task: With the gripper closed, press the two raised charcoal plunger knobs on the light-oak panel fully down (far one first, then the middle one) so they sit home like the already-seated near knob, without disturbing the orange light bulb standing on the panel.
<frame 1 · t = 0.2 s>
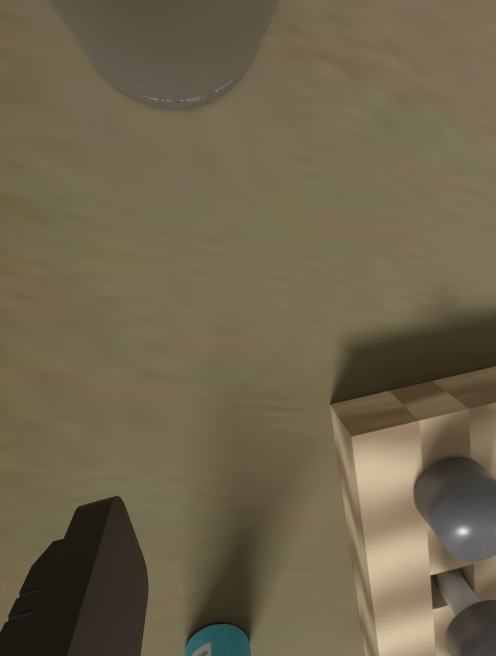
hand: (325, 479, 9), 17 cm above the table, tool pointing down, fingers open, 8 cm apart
teal bottle: (219, 643, 33), on the table
knob middle: (477, 623, 26), point 7 cm above the table, slide at 0.0 cm
panel: (454, 533, 33), on the table
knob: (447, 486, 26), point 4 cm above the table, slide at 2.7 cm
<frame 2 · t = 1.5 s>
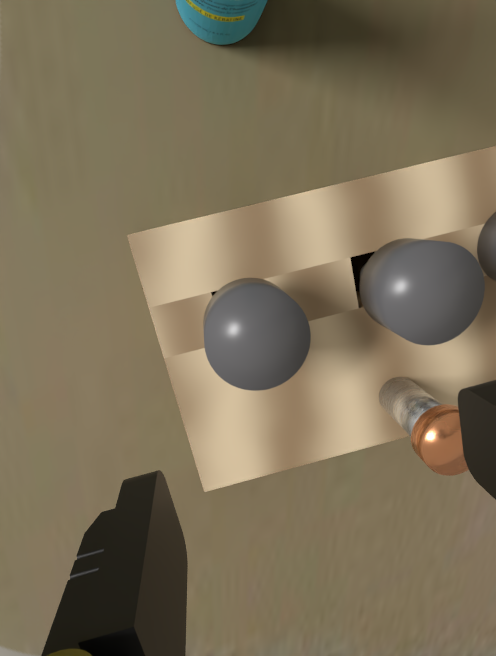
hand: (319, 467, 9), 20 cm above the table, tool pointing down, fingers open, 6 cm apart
teal bottle: (220, 1, 24), on the table
orange light bulb: (397, 394, 27), point 4 cm above the table, touching panel
knob middle: (400, 283, 22), point 7 cm above the table, slide at 0.0 cm
panel: (361, 305, 29), on the table
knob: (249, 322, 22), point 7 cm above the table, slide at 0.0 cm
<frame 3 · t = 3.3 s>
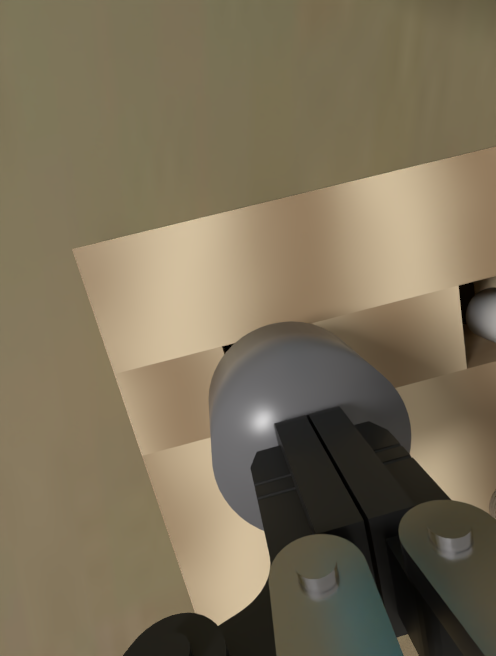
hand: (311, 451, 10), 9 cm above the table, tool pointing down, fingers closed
panel: (447, 350, 19), on the table
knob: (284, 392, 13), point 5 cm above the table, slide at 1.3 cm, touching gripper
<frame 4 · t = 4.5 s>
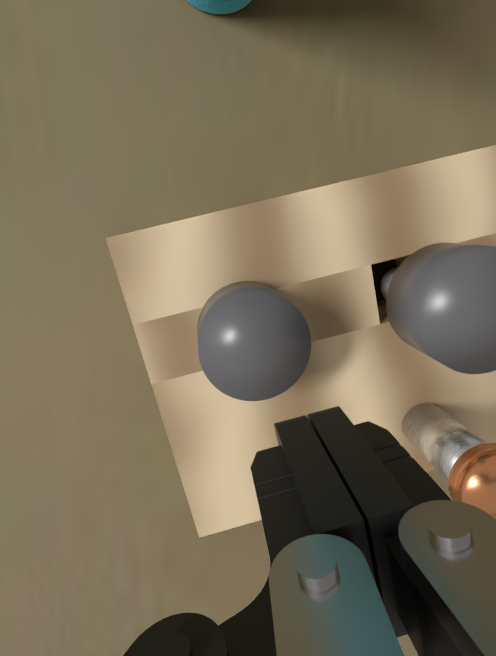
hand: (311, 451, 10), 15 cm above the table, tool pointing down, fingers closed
orange light bulb: (423, 423, 23), point 4 cm above the table, touching panel
knob middle: (433, 296, 19), point 7 cm above the table, slide at 0.0 cm
panel: (378, 318, 26), on the table
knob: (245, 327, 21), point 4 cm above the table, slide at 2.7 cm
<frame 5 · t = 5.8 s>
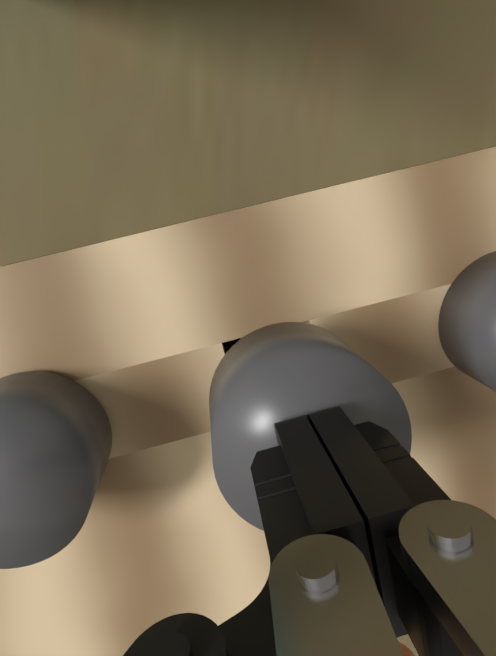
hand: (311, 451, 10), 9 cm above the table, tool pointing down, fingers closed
knob middle: (285, 392, 13), point 6 cm above the table, slide at 0.8 cm, touching gripper
panel: (271, 393, 19), on the table
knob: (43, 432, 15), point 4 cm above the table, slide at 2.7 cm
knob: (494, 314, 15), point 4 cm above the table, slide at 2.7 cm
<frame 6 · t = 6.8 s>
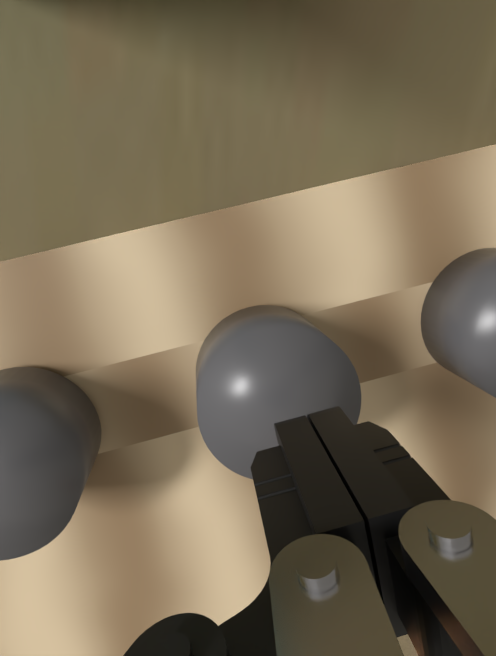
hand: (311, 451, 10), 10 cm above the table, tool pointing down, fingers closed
knob middle: (261, 367, 15), point 4 cm above the table, slide at 2.7 cm
panel: (260, 390, 20), on the table
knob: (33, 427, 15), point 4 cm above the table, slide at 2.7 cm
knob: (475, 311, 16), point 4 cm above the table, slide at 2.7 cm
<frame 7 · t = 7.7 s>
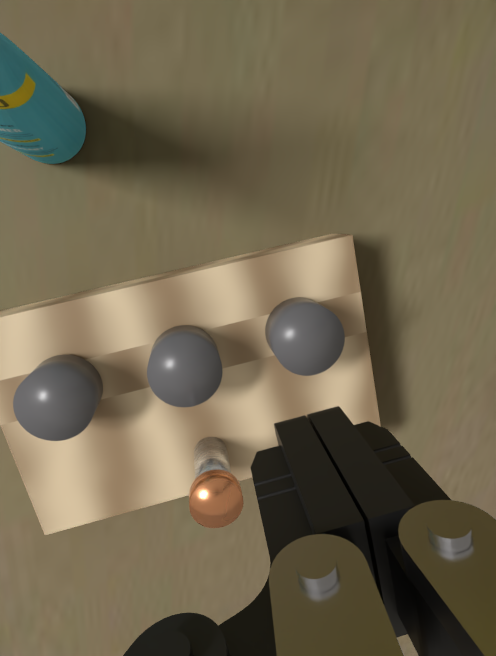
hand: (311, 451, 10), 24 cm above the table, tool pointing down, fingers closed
teal bottle: (50, 128, 29), on the table
orange light bulb: (210, 451, 32), point 4 cm above the table, touching panel
knob middle: (184, 356, 30), point 4 cm above the table, slide at 2.7 cm
panel: (192, 371, 34), on the table
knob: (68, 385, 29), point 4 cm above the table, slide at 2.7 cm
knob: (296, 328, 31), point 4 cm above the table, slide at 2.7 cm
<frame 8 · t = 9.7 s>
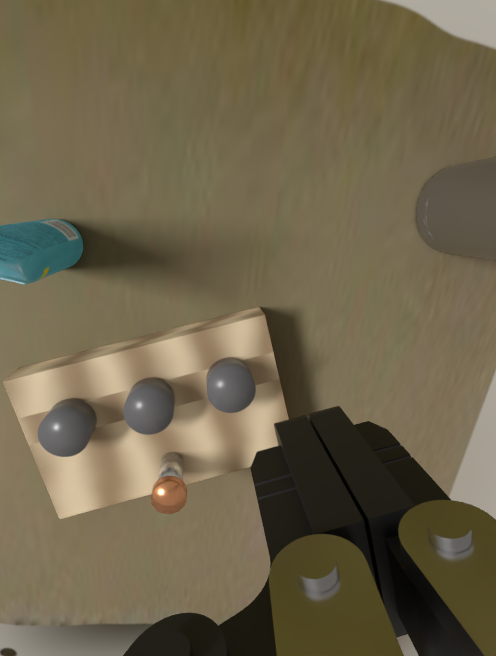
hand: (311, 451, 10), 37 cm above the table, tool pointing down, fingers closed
teal bottle: (59, 245, 43), on the table
orange light bulb: (172, 462, 46), point 4 cm above the table, touching panel
knob middle: (152, 397, 44), point 4 cm above the table, slide at 2.7 cm
panel: (161, 404, 48), on the table
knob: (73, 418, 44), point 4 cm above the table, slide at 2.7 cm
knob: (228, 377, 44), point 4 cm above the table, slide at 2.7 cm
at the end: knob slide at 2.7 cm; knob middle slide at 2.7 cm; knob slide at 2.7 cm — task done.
